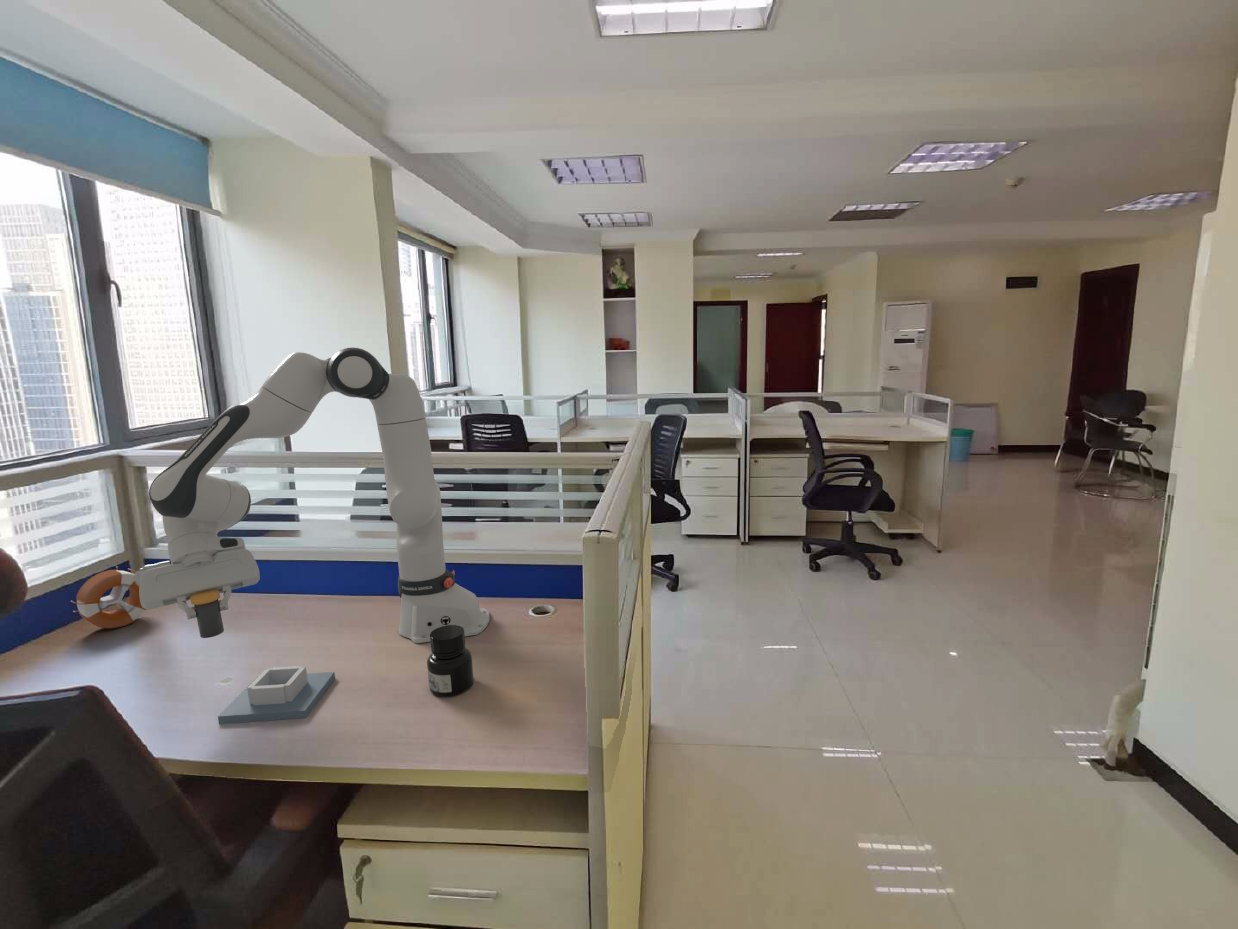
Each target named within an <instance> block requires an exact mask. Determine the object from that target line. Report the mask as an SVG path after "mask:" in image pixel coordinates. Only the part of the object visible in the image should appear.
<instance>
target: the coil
mask: <svg viewBox="0 0 1238 929" xmlns="http://www.w3.org/2000/svg"><path fill="white" fill-rule="evenodd" d="M115 568H116V569H109V570H106V571H105V570H104V571H102V572H99V573H96V574H94V576H92V577H90V578H88V579H87V580H86V581H85V582H84V583H83V584H82V586H81V587H80V589H79V590H78V591H77V594H76V598H75V599H76V602H75V601H73V600H70V602H71V603H73V604H76V607H77V610H73V611H72V612H73V613H77V612H79V615H80V617H81V618H82V619H84V620H85V621H86V622H88V623H90V624H92V625H94V626H96V627H99V628H102V629H110V630H111V629H118V628H122V627H124V626H125V627H126V626H128V625H130V624H132V623H135V622H134V621H136V620H137V619H138V618H140V617H141V616H142V615H143V614H144V613H145V612H146V611H148V610H147V609H145V608H143V607H142V605H141V602H140V595H139V586H138V585H137V584H136V583H135V578H134V575H135V573H136V572H137V570H136V571H135V569H131V568H127V570H129V571H131V572H129V571H125V570H120V569H119V566H115ZM118 569H119V570H118ZM110 589H111V592H110V594H109V595H106V596H103V595H104V594H105V593H106V592H107V591H109V590H110ZM128 590H129V595H128V596H129V597H128V599H127V601H126V602H125V601H123V598H124V595H125V594H126V591H128ZM114 604H116V606H117V607H119V608H117V609H114V610H110V611H106V610H103V609H105V608H107V606H111V605H114Z"/></svg>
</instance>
